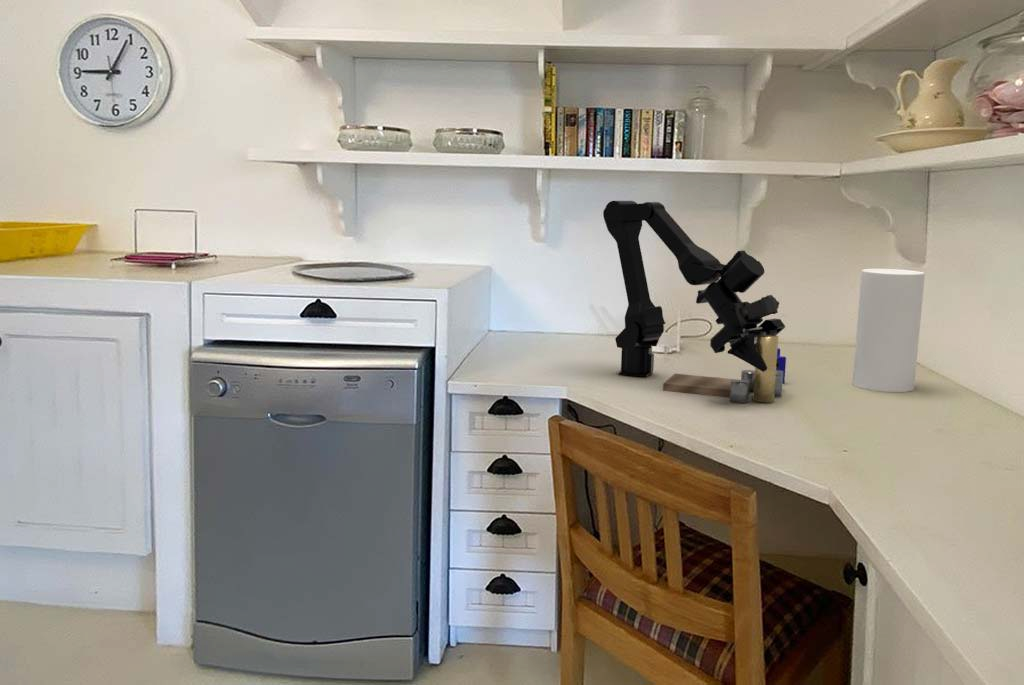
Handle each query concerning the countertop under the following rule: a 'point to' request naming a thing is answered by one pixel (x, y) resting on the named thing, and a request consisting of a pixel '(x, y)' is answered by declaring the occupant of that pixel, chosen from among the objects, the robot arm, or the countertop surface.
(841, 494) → the countertop surface
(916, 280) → the cylinder
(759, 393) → the cylinder
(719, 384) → the brown wooden board
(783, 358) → the cable clip
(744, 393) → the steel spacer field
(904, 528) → the countertop surface
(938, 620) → the countertop surface
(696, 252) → the robot arm
